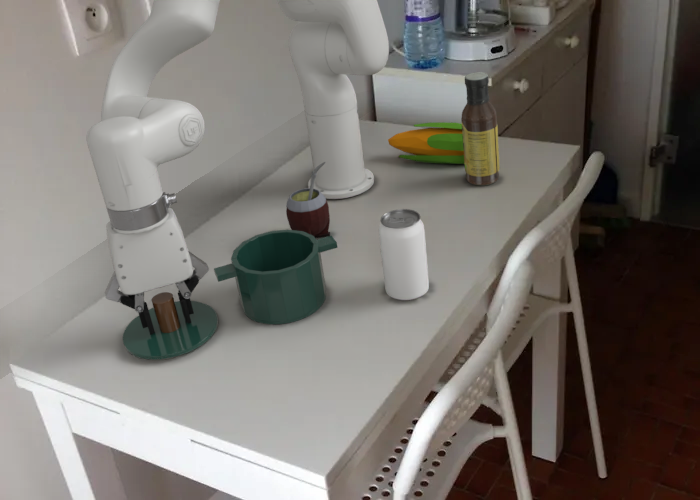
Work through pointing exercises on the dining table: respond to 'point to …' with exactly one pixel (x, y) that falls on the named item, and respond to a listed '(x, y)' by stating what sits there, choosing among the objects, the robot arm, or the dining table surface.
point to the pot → (279, 275)
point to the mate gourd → (309, 210)
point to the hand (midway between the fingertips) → (169, 322)
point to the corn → (432, 143)
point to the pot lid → (170, 329)
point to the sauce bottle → (480, 132)
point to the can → (403, 254)
